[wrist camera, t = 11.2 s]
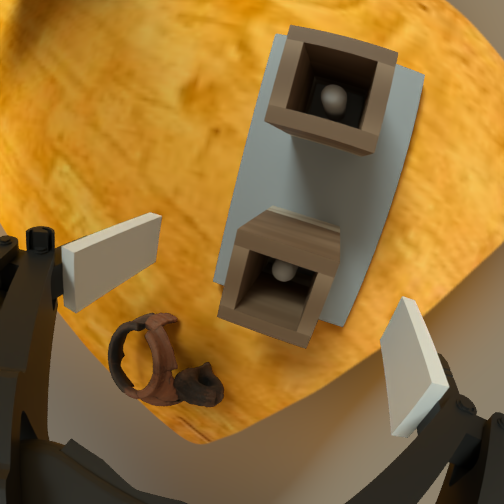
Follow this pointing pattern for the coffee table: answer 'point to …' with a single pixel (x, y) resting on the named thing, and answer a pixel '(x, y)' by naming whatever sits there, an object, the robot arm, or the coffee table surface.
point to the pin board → (324, 179)
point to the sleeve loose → (272, 290)
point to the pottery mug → (163, 368)
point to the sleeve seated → (327, 73)
